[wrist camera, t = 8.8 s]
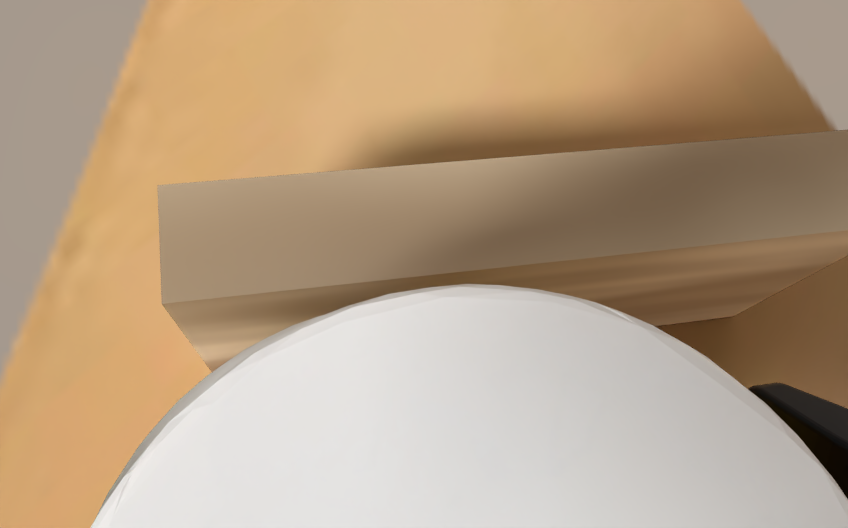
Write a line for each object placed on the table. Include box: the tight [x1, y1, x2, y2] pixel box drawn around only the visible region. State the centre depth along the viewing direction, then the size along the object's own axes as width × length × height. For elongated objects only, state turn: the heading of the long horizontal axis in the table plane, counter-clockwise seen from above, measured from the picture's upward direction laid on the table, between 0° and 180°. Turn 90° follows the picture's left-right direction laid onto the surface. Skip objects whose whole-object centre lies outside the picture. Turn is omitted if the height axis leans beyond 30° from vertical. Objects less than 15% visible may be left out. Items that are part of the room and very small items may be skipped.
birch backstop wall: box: [158, 130, 848, 372], centre depth 15 cm, size 2×13×6 cm, turn 99°
